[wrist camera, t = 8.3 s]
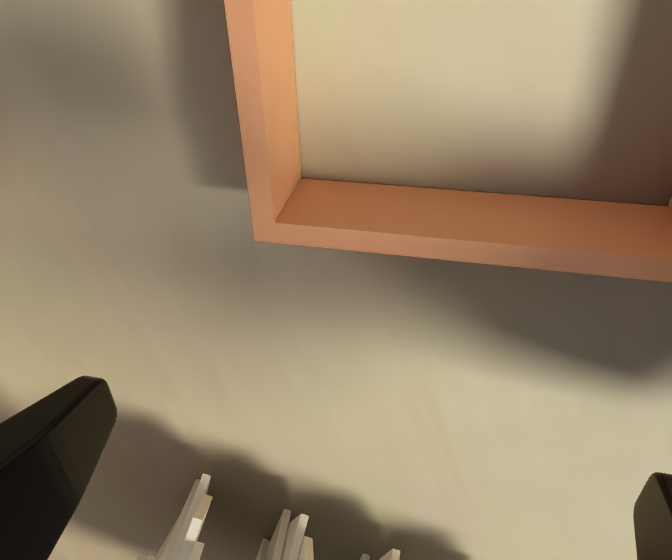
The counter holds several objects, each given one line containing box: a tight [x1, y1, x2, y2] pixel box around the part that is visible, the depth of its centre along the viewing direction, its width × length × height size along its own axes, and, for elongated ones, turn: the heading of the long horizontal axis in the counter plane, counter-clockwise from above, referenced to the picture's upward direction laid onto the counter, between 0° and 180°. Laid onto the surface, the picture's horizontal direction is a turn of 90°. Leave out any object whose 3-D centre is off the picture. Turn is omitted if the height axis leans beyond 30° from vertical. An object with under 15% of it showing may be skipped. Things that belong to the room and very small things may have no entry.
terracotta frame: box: [224, 0, 672, 283], centre depth 15 cm, size 15×15×4 cm
